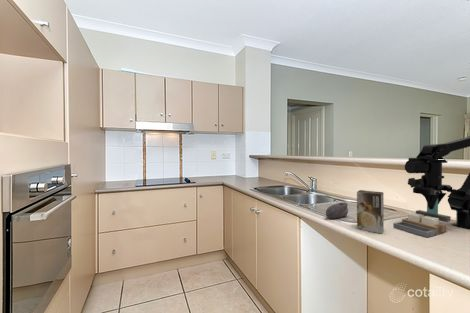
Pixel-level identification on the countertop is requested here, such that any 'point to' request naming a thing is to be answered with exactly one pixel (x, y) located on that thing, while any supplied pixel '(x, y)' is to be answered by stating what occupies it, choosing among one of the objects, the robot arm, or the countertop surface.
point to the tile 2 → (430, 220)
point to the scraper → (434, 213)
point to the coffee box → (370, 211)
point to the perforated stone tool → (337, 210)
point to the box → (414, 229)
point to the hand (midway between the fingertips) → (432, 208)
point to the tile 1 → (415, 217)
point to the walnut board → (428, 226)
